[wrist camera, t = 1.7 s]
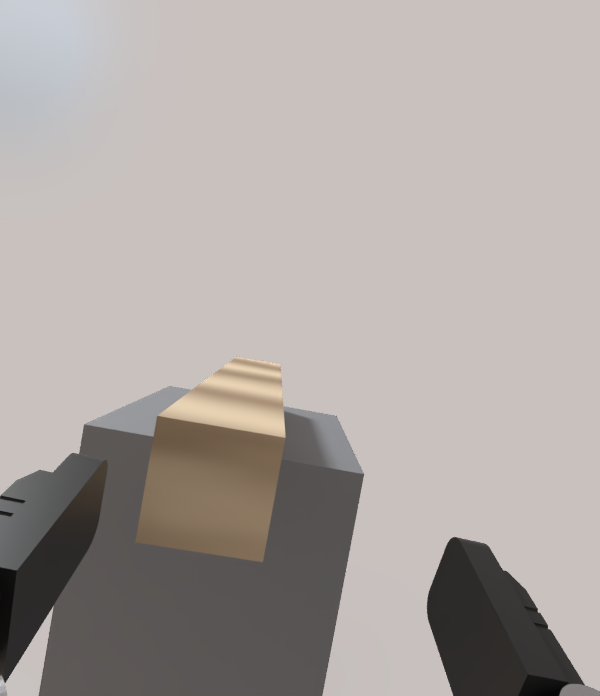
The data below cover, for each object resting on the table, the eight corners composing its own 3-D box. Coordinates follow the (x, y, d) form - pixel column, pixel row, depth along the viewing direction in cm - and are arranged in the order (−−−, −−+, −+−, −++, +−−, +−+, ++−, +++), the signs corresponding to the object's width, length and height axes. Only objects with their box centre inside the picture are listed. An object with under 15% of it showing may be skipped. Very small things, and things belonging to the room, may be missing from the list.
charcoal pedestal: (242, 1191, 21) (377, 479, 20) (-53, 1145, 21) (66, 424, 20) (264, 836, 36) (342, 416, 35) (91, 807, 36) (164, 383, 35)
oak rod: (262, 562, 12) (285, 437, 11) (135, 542, 11) (157, 415, 11) (272, 407, 33) (280, 364, 33) (229, 399, 33) (236, 356, 33)
